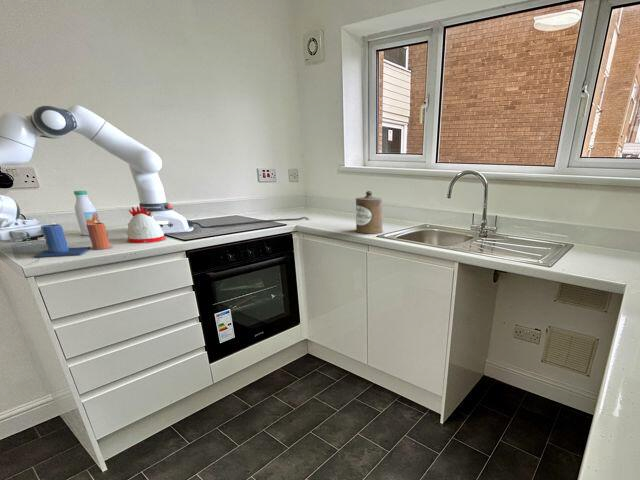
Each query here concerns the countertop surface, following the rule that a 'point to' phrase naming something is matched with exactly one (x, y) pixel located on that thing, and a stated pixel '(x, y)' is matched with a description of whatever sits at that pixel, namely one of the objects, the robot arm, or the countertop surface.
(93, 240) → the terracotta cup
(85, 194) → the milk bottle
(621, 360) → the countertop surface
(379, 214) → the wooden container
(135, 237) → the white crested dome
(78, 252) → the blue mat
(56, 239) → the blue cup
